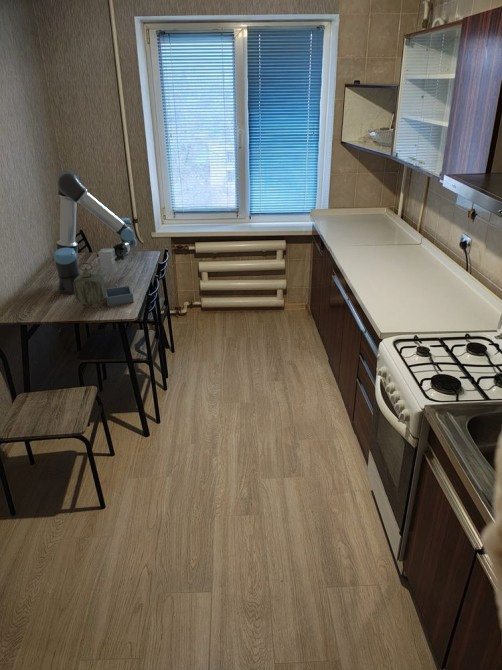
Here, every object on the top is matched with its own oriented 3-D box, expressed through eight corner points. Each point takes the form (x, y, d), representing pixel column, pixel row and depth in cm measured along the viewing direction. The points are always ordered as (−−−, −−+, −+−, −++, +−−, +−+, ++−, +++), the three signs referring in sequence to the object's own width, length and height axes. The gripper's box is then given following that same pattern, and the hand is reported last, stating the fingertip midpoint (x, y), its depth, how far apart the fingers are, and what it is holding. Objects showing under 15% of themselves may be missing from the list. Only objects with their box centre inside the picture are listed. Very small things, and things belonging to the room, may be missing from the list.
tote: (107, 306, 260) (106, 297, 258) (106, 297, 272) (104, 289, 270) (133, 302, 264) (132, 293, 262) (130, 293, 276) (129, 285, 273)
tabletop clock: (108, 304, 263) (100, 259, 252) (105, 311, 255) (96, 265, 244) (81, 305, 263) (72, 260, 252) (77, 312, 255) (67, 266, 244)
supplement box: (114, 273, 272) (111, 251, 267) (101, 274, 273) (97, 252, 267) (118, 269, 279) (114, 247, 273) (105, 269, 279) (101, 248, 274)
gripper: (138, 255, 288) (122, 268, 268) (105, 255, 292) (87, 267, 272) (137, 243, 285) (120, 255, 265) (103, 242, 288) (85, 254, 269)
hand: (104, 261), depth 268 cm, fingers closed on supplement box, 8 cm apart
